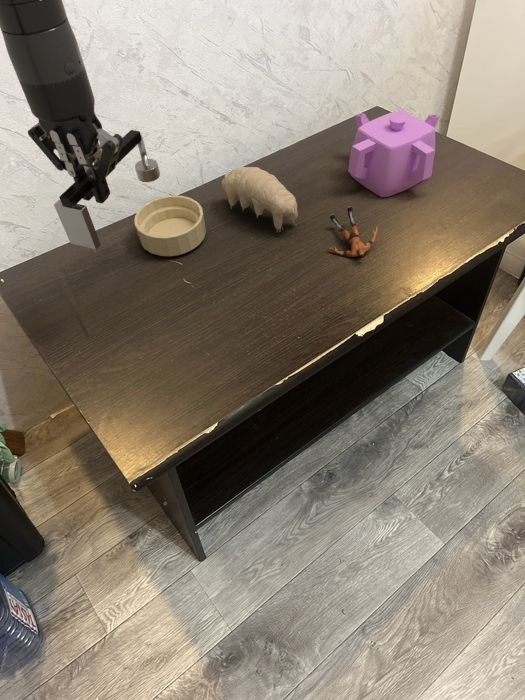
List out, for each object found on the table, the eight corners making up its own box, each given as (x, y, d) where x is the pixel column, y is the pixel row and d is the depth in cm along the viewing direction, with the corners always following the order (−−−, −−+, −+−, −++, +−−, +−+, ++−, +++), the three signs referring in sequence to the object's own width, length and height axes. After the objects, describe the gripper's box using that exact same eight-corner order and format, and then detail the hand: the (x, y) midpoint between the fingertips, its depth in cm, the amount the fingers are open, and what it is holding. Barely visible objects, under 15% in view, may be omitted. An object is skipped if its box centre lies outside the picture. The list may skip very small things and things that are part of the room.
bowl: (155, 268, 91) (148, 246, 87) (131, 230, 98) (125, 209, 94) (217, 243, 94) (214, 222, 90) (190, 209, 101) (186, 188, 98)
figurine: (363, 199, 92) (387, 243, 86) (365, 208, 94) (388, 251, 88) (317, 220, 93) (337, 265, 88) (319, 228, 95) (339, 272, 90)
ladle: (142, 168, 83) (130, 121, 77) (166, 172, 82) (155, 125, 76) (70, 243, 71) (49, 195, 65) (96, 250, 70) (77, 201, 64)
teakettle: (345, 196, 101) (350, 138, 92) (351, 151, 112) (356, 95, 102) (431, 202, 99) (446, 143, 89) (429, 155, 109) (443, 97, 99)
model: (238, 192, 104) (233, 147, 96) (305, 225, 96) (306, 179, 89) (215, 208, 101) (209, 163, 93) (283, 243, 94) (282, 197, 86)
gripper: (118, 60, 57) (152, 192, 71) (23, 48, 61) (72, 176, 75) (81, 89, 53) (124, 223, 67) (-20, 74, 57) (40, 204, 70)
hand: (96, 198), depth 71 cm, fingers closed on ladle
